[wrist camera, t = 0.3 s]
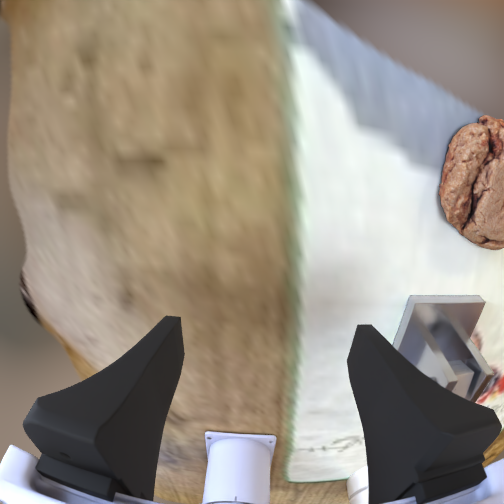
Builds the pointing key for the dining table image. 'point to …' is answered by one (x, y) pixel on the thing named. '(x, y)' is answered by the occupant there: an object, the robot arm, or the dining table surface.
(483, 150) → the cookie
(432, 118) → the dining table surface
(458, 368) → the tap lever
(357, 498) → the honey pot
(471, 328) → the bracket
